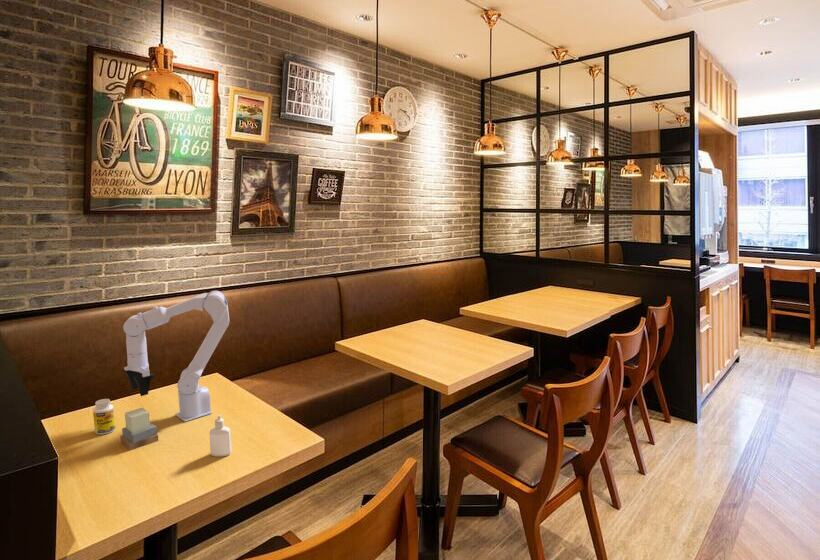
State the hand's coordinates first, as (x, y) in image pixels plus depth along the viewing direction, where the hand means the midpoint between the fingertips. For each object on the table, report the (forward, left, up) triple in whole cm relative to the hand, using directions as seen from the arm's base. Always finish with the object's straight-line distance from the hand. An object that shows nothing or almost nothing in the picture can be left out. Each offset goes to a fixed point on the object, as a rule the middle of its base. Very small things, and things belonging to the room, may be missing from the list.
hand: (140, 391), depth 161 cm
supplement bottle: (+11, -1, -11) cm, 15 cm away
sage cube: (+6, +14, -6) cm, 16 cm away
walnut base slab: (+5, +14, -11) cm, 18 cm away
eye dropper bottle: (-8, +39, -11) cm, 41 cm away
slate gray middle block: (+5, +14, -9) cm, 17 cm away
